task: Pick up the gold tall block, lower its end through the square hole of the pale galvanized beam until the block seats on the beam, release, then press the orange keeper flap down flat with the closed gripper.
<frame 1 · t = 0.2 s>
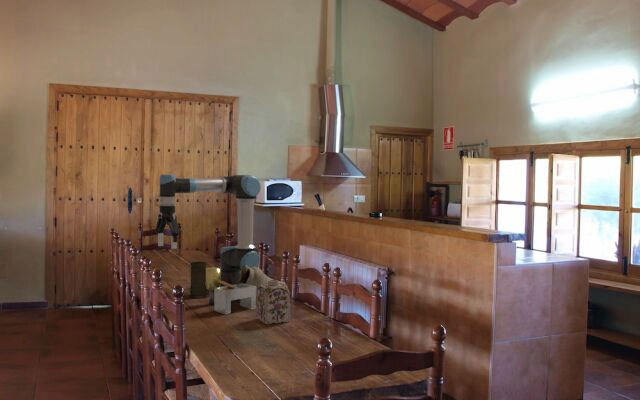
hand: (167, 247, 278), 28 cm above the table, fingers open, 13 cm apart
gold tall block: (213, 304, 276), on the table
keeper flap: (226, 284, 262), point 13 cm above the table, hinge at 28.1°
container: (198, 296, 293), on the table
decorative jar: (273, 320, 248), on the table
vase: (263, 300, 287), on the table
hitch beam: (235, 309, 266), on the table
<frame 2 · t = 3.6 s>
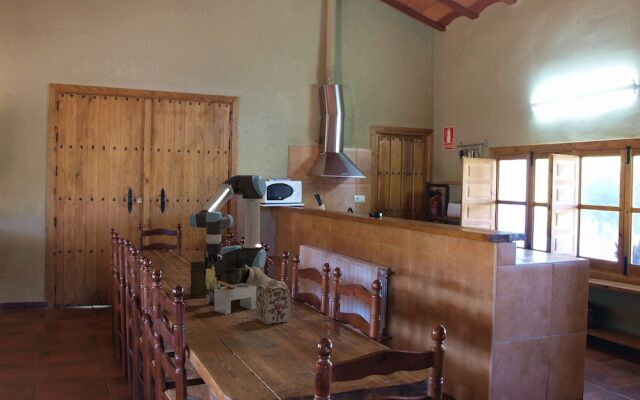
hand: (213, 288, 276), 8 cm above the table, fingers closed on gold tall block, 7 cm apart
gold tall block: (213, 304, 276), on the table, touching gripper
keeper flap: (226, 284, 262), point 13 cm above the table, hinge at 25.6°
everything else where it was.
when the fingers open (12 cm above the table, at t = 9.8 s): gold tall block stays where it is, resting on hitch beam.
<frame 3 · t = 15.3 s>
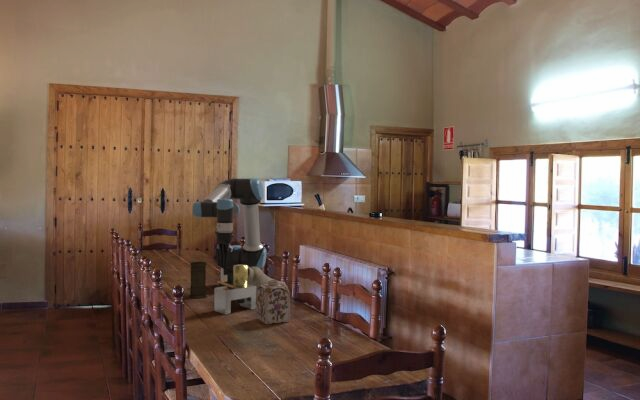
hand: (223, 281, 261), 14 cm above the table, fingers closed
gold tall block: (240, 302, 268), point 3 cm above the table, touching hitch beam
keeper flap: (226, 284, 262), point 13 cm above the table, hinge at 24.9°, touching gripper
everything else where it was.
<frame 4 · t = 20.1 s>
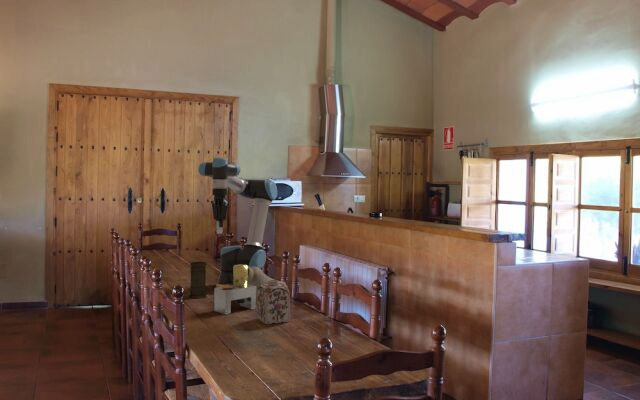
hand: (219, 233, 286), 34 cm above the table, fingers closed
keeper flap: (225, 286, 261), point 12 cm above the table, hinge at 8.7°
everything else where it was.
at the end: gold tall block 0.0 cm from the target spot on the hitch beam, point 3.0 cm above the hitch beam's base; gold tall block tilted 0° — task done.
